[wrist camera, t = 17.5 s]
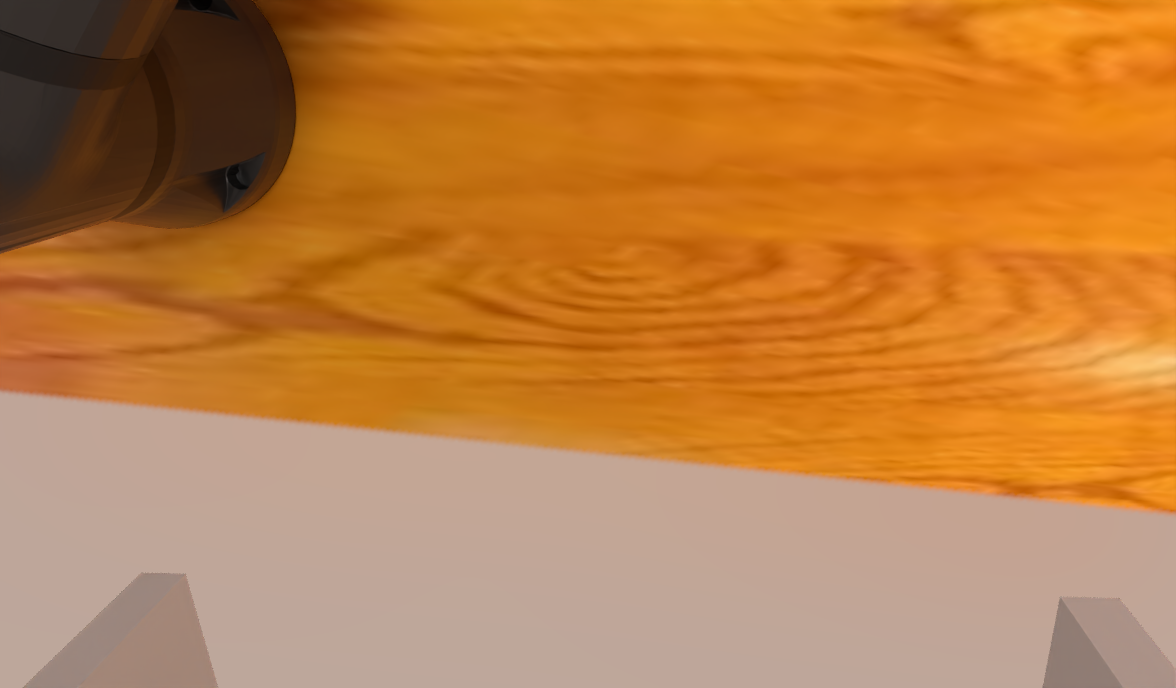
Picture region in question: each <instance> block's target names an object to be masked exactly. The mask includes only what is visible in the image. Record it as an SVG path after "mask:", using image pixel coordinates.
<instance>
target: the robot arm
mask: <svg viewBox="0 0 1176 688" xmlns="http://www.w3.org/2000/svg"><path fill="white" fill-rule="evenodd" d="M294 126H295V100H294V91H293V85H292V80H291V75H290V72H289V68H288V65H287V62H286V59H285V56H284V53H283V51H282V49H281V46H280V44H279V42H278V40H277V38H276V36H275V34H274V32H273V30H272V29H271V27H270V25H269V24H268V22H267V21H266V19H265V18H264V16H263V15H262V13H261V12H260V11H259V9H258V8H257V7H256V5H255V4H254V3H253V2H252V1H251V0H0V254H1V253H4V252H7V251H11V250H14V249H17V248H21V247H24V246H27V245H30V244H34V243H37V242H40V241H44V240H47V239H50V238H54V237H57V236H60V235H63V234H67V233H70V232H73V231H77V230H80V229H83V228H87V227H90V226H93V225H96V224H99V223H102V222H106V221H109V220H110V221H116V222H123V223H130V224H137V225H144V226H151V227H158V228H168V229H179V228H191V227H197V226H202V225H206V224H209V223H212V222H215V221H218V220H221V219H224V218H226V217H229V216H232V215H234V214H236V213H239V212H241V211H243V210H244V209H246V208H248V207H249V206H251V205H252V204H254V203H255V202H256V201H257V200H259V199H260V198H261V197H262V196H263V195H264V194H265V193H266V192H267V191H268V190H269V189H270V187H271V186H272V185H273V183H274V182H275V181H276V179H277V178H278V176H279V174H280V173H281V171H282V169H283V167H284V165H285V162H286V160H287V157H288V155H289V151H290V148H291V144H292V139H293V134H294ZM23 688H218V686H217V682H216V679H215V675H214V672H213V668H212V665H211V661H210V658H209V654H208V651H207V647H206V644H205V640H204V637H203V634H202V630H201V627H200V623H199V619H198V616H197V612H196V609H195V606H194V602H193V599H192V595H191V592H190V588H189V585H188V581H187V578H186V575H185V574H169V573H168V574H167V573H141V574H140V575H139V576H138V577H137V578H136V579H135V580H134V581H133V582H131V584H129V585H128V586H127V587H126V588H125V589H124V590H123V591H122V592H121V593H120V594H119V595H118V596H117V597H116V598H115V599H114V600H113V601H112V602H111V603H110V604H109V605H108V606H107V607H106V608H105V609H104V610H103V611H101V612H100V613H99V614H98V615H97V616H96V618H94V620H92V621H91V622H90V623H89V624H88V625H87V626H86V627H85V628H84V629H83V630H82V631H81V632H80V633H79V634H78V635H77V636H76V637H75V638H74V639H73V640H72V641H70V642H69V643H68V644H67V646H65V647H64V648H63V649H62V650H61V651H60V652H59V653H58V654H57V655H56V656H55V657H54V658H53V659H52V660H51V661H50V662H49V663H48V664H47V665H46V666H45V667H44V668H43V669H42V670H41V671H39V672H38V673H37V675H35V676H34V677H33V678H32V679H31V680H30V681H29V682H28V683H27V684H26V685H25V686H24V687H23ZM1043 688H1176V668H1175V667H1174V666H1173V665H1172V663H1171V662H1170V661H1169V660H1168V658H1167V657H1166V656H1165V655H1164V653H1163V652H1162V651H1161V650H1160V648H1159V647H1158V646H1157V645H1156V644H1155V642H1154V641H1153V640H1152V638H1151V637H1150V636H1149V635H1148V633H1147V632H1146V631H1145V630H1144V628H1143V627H1142V626H1141V625H1140V624H1139V622H1138V621H1137V620H1136V618H1135V617H1134V616H1133V615H1132V613H1131V612H1130V611H1129V610H1128V608H1127V607H1126V606H1125V605H1124V603H1123V602H1122V601H1121V600H1120V598H1091V597H1090V598H1089V597H1060V600H1059V605H1058V610H1057V615H1056V621H1055V626H1054V631H1053V636H1052V642H1051V647H1050V652H1049V657H1048V663H1047V668H1046V673H1045V678H1044V684H1043Z"/></svg>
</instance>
